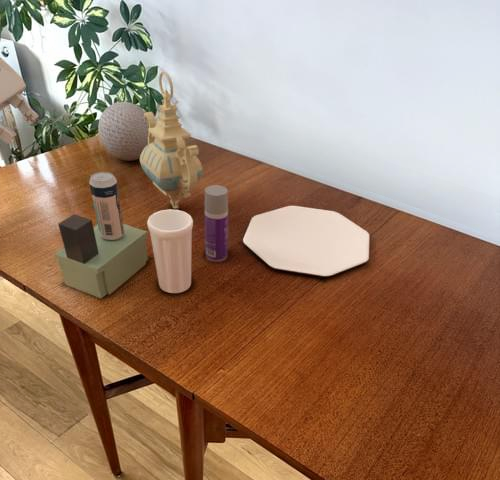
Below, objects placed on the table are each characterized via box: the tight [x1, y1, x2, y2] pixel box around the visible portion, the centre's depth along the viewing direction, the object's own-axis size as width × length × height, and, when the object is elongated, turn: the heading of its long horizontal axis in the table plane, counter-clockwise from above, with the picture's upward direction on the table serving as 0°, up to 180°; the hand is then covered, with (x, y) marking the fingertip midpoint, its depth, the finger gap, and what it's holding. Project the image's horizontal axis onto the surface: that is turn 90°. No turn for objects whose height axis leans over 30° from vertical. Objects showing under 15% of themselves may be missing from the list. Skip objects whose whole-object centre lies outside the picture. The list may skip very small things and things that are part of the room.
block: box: [58, 213, 99, 264], centre depth 83 cm, size 4×4×7 cm
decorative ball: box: [97, 101, 149, 162], centre depth 129 cm, size 15×15×15 cm
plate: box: [242, 205, 371, 278], centre depth 104 cm, size 28×28×2 cm
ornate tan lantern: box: [139, 71, 204, 210], centre depth 103 cm, size 24×12×30 cm, turn 33°
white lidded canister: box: [88, 171, 125, 240], centre depth 86 cm, size 5×5×12 cm
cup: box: [146, 208, 194, 294], centre depth 86 cm, size 8×8×14 cm
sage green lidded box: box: [53, 223, 149, 299], centre depth 91 cm, size 10×15×7 cm, turn 154°
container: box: [204, 184, 229, 263], centre depth 94 cm, size 5×5×15 cm
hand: (24, 130), depth 79 cm, fingers open, 8 cm apart
